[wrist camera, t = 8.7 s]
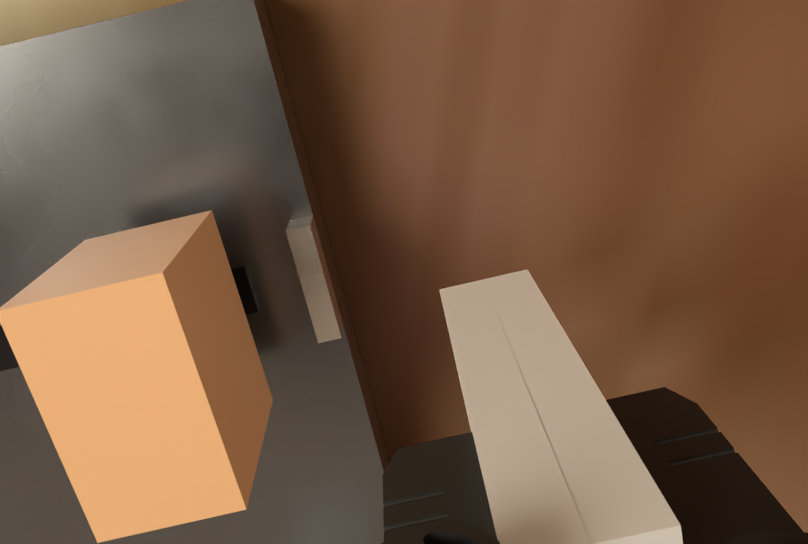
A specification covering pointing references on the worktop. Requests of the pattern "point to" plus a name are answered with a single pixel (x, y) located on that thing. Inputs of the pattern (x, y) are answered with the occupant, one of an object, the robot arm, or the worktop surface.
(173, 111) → the console
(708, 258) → the worktop surface
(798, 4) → the worktop surface
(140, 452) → the block
